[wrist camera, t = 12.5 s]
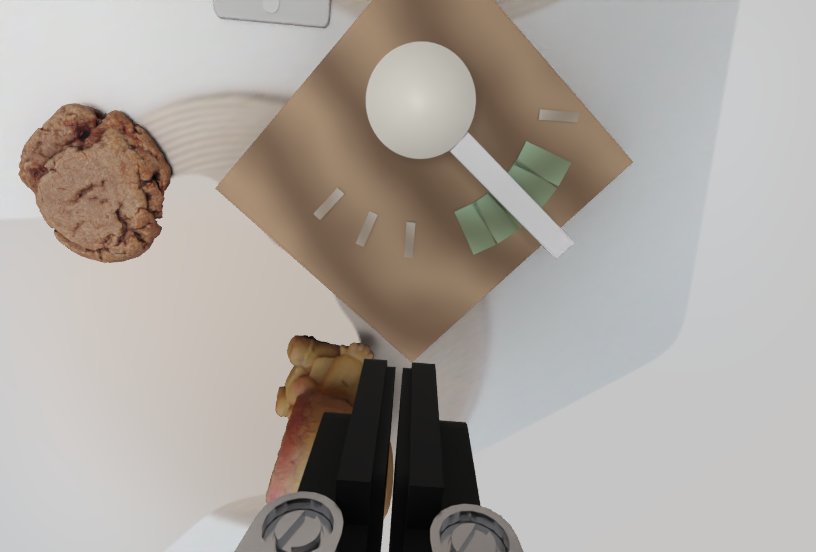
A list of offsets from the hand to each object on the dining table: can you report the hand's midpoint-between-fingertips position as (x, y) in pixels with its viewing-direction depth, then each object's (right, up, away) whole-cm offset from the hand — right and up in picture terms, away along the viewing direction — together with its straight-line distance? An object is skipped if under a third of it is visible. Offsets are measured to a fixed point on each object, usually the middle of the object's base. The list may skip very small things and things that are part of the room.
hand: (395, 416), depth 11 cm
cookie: (-21, +10, +22) cm, 32 cm away
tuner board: (+1, +10, +21) cm, 23 cm away
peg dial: (+4, +11, +18) cm, 21 cm away
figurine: (-5, -5, +26) cm, 27 cm away
